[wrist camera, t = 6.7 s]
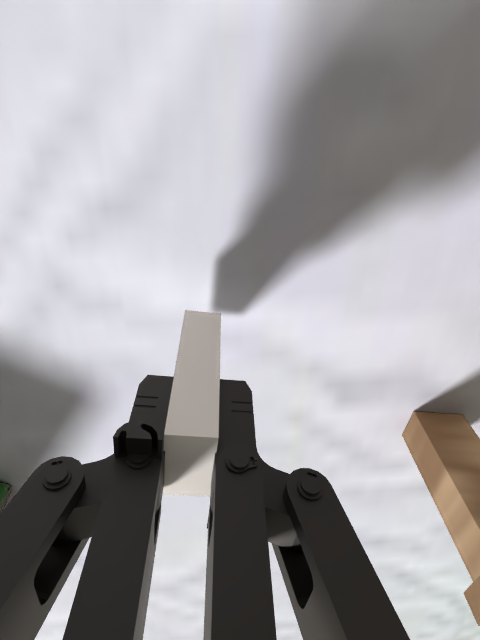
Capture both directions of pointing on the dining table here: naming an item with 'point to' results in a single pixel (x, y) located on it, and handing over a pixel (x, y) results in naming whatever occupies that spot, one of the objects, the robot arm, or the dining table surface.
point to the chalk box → (4, 494)
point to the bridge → (452, 483)
